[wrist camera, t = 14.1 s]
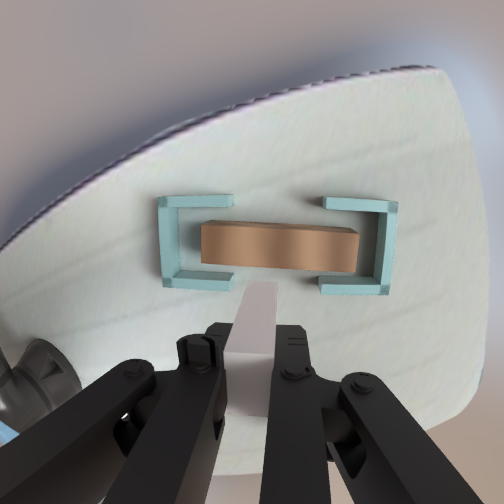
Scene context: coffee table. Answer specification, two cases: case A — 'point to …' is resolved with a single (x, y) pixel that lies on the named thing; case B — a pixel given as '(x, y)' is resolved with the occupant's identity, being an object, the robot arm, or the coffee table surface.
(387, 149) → the coffee table surface
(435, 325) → the coffee table surface
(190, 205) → the teal staple arch
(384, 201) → the cap
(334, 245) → the slat
